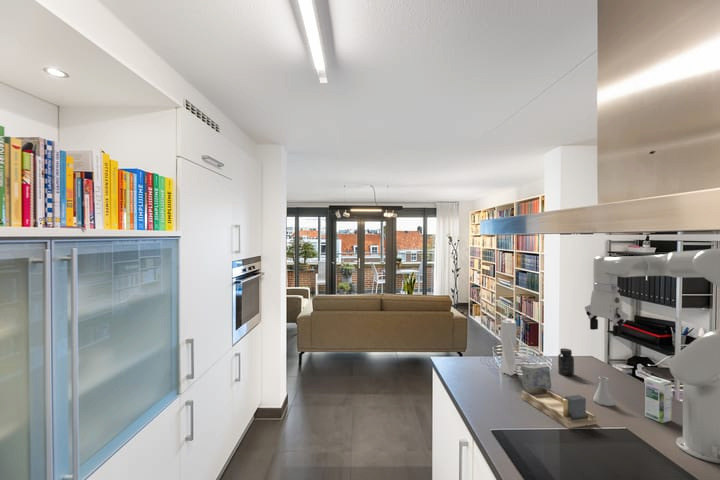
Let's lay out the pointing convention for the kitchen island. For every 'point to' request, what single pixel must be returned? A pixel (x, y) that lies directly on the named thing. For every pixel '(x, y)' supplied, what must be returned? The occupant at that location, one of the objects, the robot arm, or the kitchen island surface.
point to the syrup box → (658, 399)
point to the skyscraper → (508, 346)
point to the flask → (603, 393)
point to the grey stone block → (536, 375)
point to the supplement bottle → (566, 362)
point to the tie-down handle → (576, 407)
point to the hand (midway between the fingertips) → (605, 332)
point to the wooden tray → (553, 406)
